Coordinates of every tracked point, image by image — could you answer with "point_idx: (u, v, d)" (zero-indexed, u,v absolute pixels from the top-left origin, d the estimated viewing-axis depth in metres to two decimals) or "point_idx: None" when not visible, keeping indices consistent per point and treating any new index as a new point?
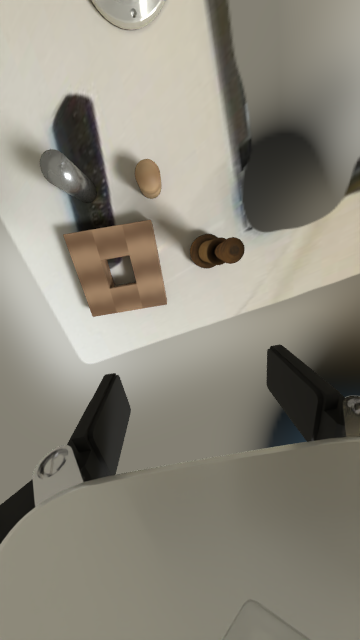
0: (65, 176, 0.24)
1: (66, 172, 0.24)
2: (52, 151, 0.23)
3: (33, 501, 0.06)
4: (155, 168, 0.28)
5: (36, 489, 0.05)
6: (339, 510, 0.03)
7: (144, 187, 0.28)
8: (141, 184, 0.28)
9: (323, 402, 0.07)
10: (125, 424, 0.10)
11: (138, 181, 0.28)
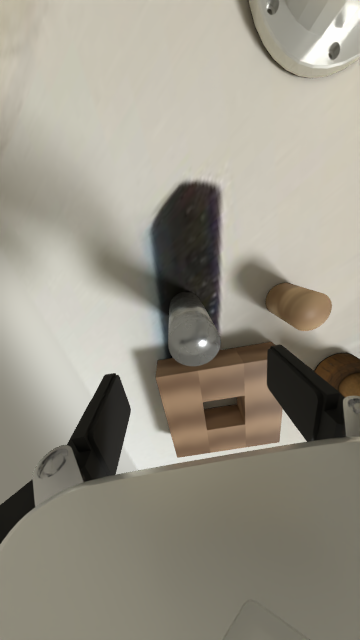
0: (208, 354, 0.14)
1: (211, 349, 0.14)
2: (195, 323, 0.13)
3: (33, 501, 0.06)
4: (326, 304, 0.17)
5: (36, 489, 0.05)
6: (338, 509, 0.03)
7: (300, 328, 0.18)
8: (296, 325, 0.18)
9: (323, 402, 0.07)
10: (125, 424, 0.10)
11: (293, 321, 0.17)
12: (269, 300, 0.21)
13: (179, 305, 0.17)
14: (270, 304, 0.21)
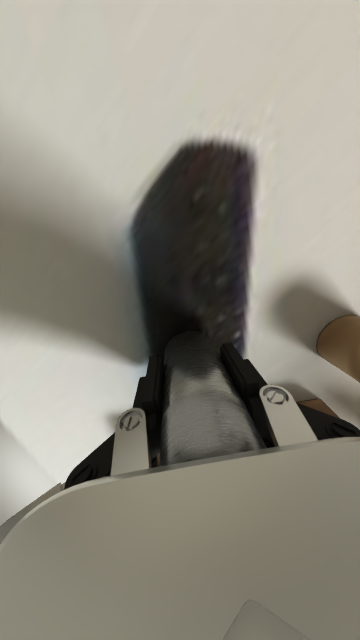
0: None
1: None
2: None
3: (114, 443, 0.07)
4: None
5: (116, 436, 0.07)
6: (338, 509, 0.03)
7: None
8: None
9: (247, 390, 0.08)
10: None
11: None
12: (327, 344, 0.13)
13: (183, 374, 0.09)
14: (329, 350, 0.13)
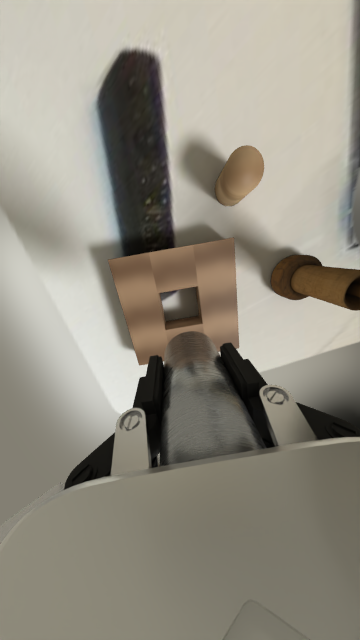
0: None
1: None
2: None
3: (114, 443, 0.07)
4: (258, 161, 0.18)
5: (116, 436, 0.07)
6: (338, 509, 0.03)
7: (235, 188, 0.19)
8: (231, 183, 0.18)
9: (247, 390, 0.08)
10: None
11: (228, 178, 0.18)
12: (216, 183, 0.22)
13: (183, 374, 0.09)
14: (216, 186, 0.22)
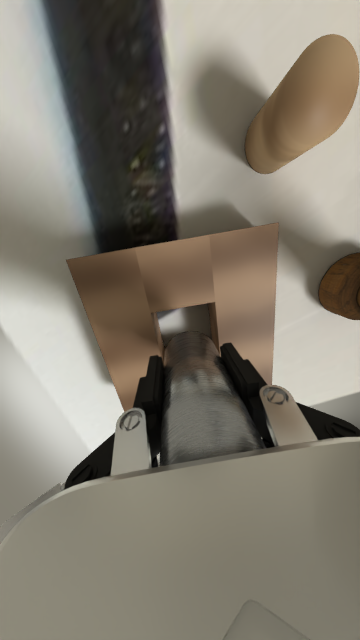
0: None
1: None
2: None
3: (114, 443, 0.07)
4: (350, 80, 0.09)
5: (116, 436, 0.07)
6: (339, 509, 0.03)
7: (296, 131, 0.10)
8: (291, 119, 0.10)
9: (247, 390, 0.08)
10: None
11: (288, 106, 0.09)
12: (252, 125, 0.13)
13: (183, 374, 0.09)
14: (252, 130, 0.13)
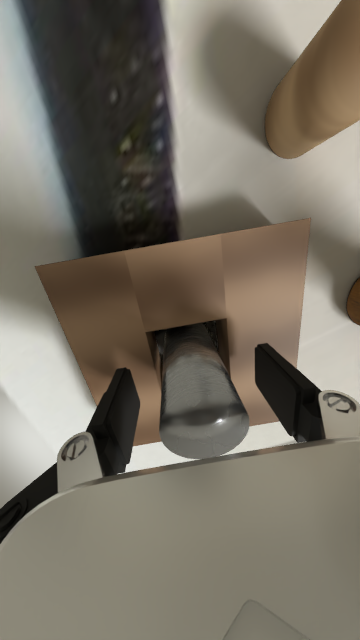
0: (227, 442, 0.08)
1: (232, 434, 0.08)
2: (207, 397, 0.07)
3: (57, 480, 0.06)
4: None
5: (59, 470, 0.06)
6: (338, 509, 0.03)
7: (344, 81, 0.07)
8: (343, 59, 0.07)
9: (301, 396, 0.07)
10: (136, 416, 0.10)
11: (343, 36, 0.06)
12: (280, 83, 0.10)
13: (178, 345, 0.11)
14: (279, 89, 0.10)
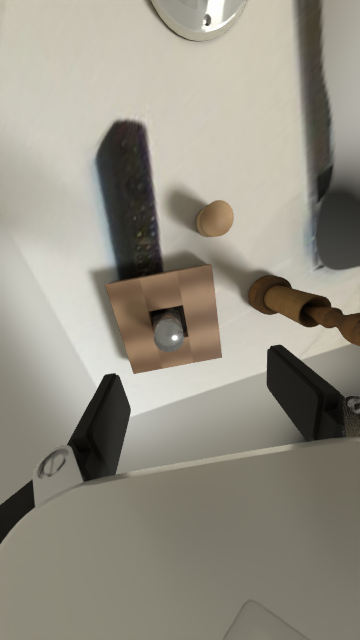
0: (177, 344, 0.24)
1: (178, 341, 0.23)
2: (168, 326, 0.23)
3: (33, 501, 0.06)
4: (229, 222, 0.23)
5: (36, 489, 0.05)
6: (339, 510, 0.03)
7: (205, 225, 0.22)
8: (204, 219, 0.22)
9: (323, 402, 0.07)
10: (125, 424, 0.10)
11: (205, 214, 0.22)
12: (202, 210, 0.25)
13: (162, 316, 0.27)
14: (200, 211, 0.25)
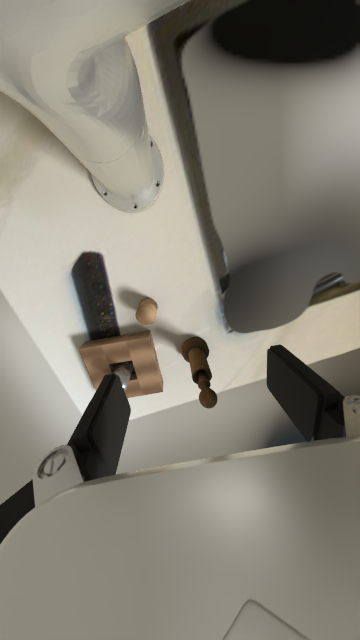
0: None
1: None
2: None
3: (33, 501, 0.06)
4: (151, 320, 0.36)
5: (36, 489, 0.05)
6: (338, 509, 0.03)
7: (136, 315, 0.36)
8: (137, 313, 0.35)
9: (323, 402, 0.07)
10: (125, 424, 0.10)
11: (138, 310, 0.35)
12: (145, 300, 0.38)
13: (117, 368, 0.40)
14: (143, 300, 0.38)
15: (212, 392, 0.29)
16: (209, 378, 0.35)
